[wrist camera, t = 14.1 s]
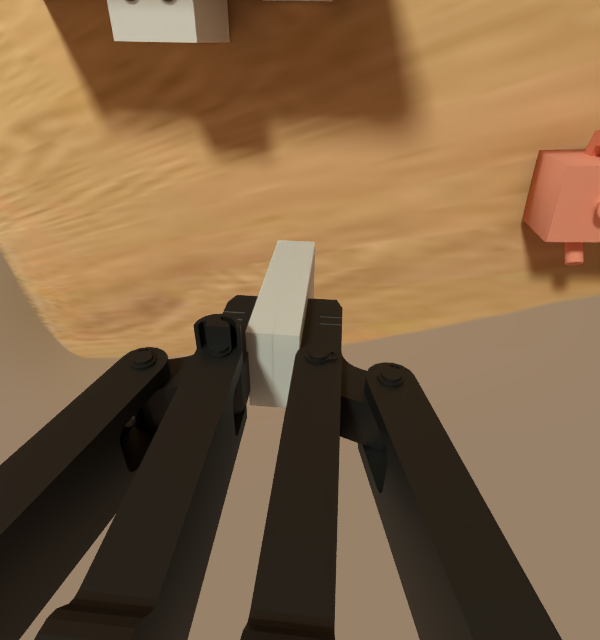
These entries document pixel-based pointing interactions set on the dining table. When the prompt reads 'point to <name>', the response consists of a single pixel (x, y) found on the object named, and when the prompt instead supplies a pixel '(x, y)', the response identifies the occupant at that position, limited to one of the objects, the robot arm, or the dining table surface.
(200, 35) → the key two
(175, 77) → the dining table surface
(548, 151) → the pink cube teapot
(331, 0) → the key one
